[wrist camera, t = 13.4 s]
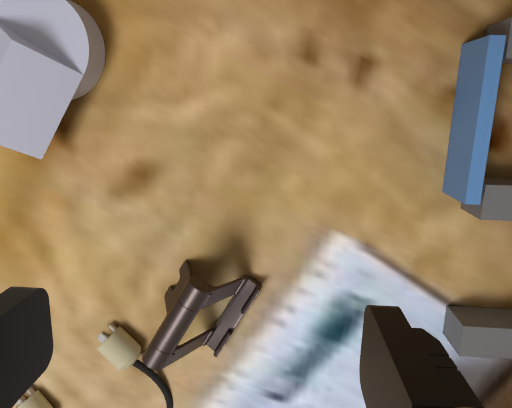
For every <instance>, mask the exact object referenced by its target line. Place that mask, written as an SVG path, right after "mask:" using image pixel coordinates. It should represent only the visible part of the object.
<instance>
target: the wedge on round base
mask: <svg viewBox="0 0 512 408" xmlns="http://www.w3.org/2000/svg"><path fill="white" fill-rule="evenodd" d="M104 64H105V45H104V40H103V37H102V34H101V31H100V29H99V27H98V25H97V24H96V22H95V21H94V19H93V18H92V17H91V15H90V14H89V13H88V12H87V11H86V10H84V9H83V8H82V7H81V6H79V5H78V4H76V3H74V2H72V1H70V0H0V145H1V146H4V147H7V148H10V149H12V150H15V151H18V152H21V153H24V154H27V155H30V156H33V157H36V158H39V159H42V158H43V156H44V154H45V152H46V150H47V148H48V146H49V144H50V142H51V140H52V138H53V136H54V134H55V132H56V130H57V128H58V126H59V124H60V122H61V119H62V117H63V115H64V113H65V111H66V109H67V107H68V105H69V103H70V101H71V100H73V99H77V98H79V97H81V96H83V95H85V94H86V93H88V92H89V91H90V90H91V89H92V88H93V87H94V86H95V85H96V83H97V82H98V80H99V78H100V76H101V74H102V72H103V68H104Z"/></svg>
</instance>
